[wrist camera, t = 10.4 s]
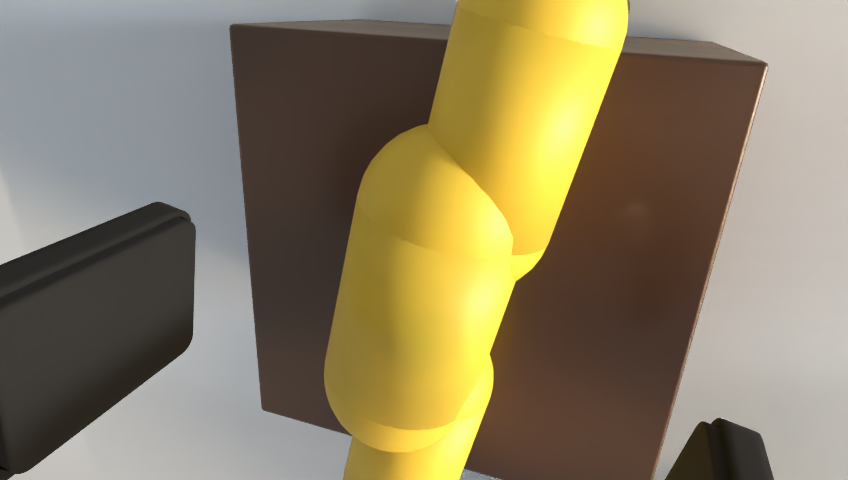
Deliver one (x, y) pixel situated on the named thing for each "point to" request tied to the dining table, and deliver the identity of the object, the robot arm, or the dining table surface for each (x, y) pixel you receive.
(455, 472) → the banana
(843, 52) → the dining table surface
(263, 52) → the block
